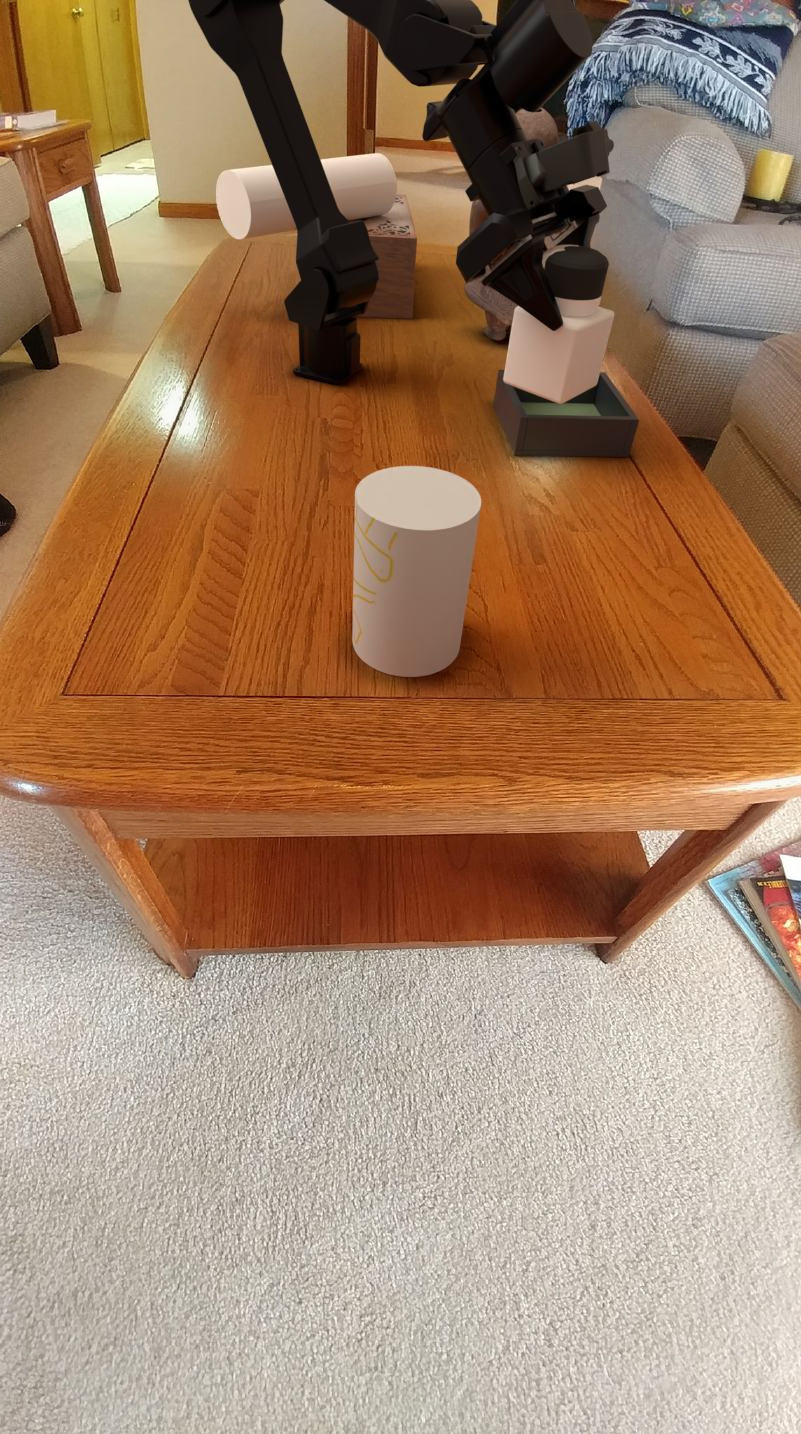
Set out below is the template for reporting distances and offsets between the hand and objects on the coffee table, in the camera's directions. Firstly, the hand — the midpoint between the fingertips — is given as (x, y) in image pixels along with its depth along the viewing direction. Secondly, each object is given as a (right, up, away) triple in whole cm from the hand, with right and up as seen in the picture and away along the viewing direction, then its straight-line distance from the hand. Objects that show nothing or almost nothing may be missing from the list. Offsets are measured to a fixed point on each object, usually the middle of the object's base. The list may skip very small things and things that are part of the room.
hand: (576, 318), depth 71 cm
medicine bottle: (-2, -4, +5) cm, 7 cm away
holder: (+1, -5, +13) cm, 14 cm away
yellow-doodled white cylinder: (-16, -32, -14) cm, 39 cm away
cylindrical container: (-38, +25, +22) cm, 50 cm away
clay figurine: (-2, +15, +34) cm, 37 cm away
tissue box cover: (-23, +28, +45) cm, 58 cm away
